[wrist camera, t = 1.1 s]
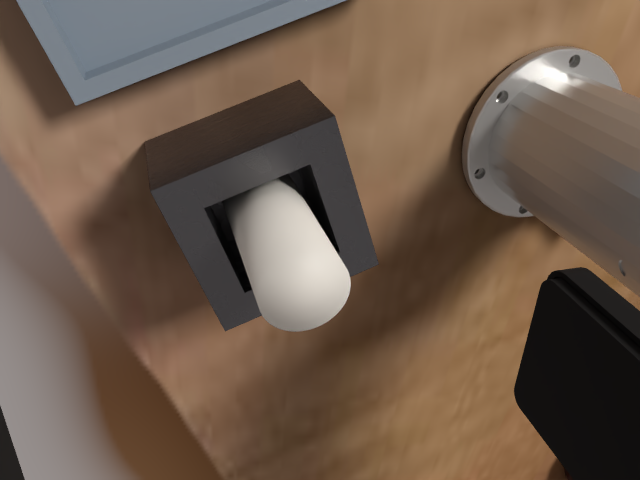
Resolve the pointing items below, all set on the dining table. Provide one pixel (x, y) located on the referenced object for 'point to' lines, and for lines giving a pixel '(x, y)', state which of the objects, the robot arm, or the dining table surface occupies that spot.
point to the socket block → (248, 172)
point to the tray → (146, 35)
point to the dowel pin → (287, 256)
